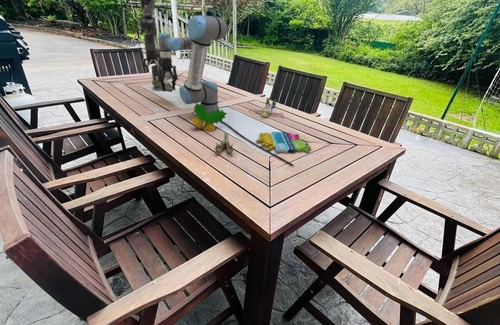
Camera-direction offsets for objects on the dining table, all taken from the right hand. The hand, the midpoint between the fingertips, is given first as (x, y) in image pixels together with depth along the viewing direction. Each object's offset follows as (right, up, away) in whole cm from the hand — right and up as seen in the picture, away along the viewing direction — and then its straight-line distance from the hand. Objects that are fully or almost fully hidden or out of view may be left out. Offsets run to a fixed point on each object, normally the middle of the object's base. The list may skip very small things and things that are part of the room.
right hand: (168, 90), depth 193 cm
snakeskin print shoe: (-7, +3, +6) cm, 9 cm away
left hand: (-15, +16, +8) cm, 23 cm away
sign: (+79, -42, -41) cm, 98 cm away
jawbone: (+47, -48, -55) cm, 86 cm away
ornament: (+35, -32, -29) cm, 55 cm away
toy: (+74, -15, +8) cm, 76 cm away
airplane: (-30, +36, +84) cm, 96 cm away
